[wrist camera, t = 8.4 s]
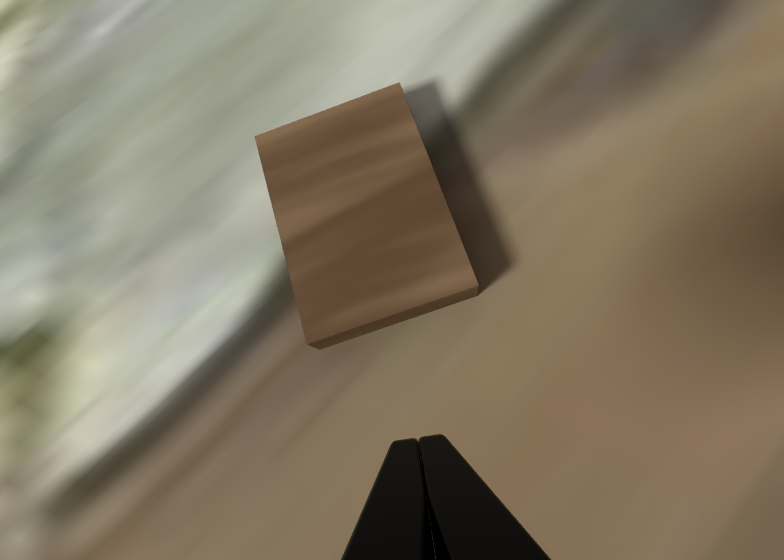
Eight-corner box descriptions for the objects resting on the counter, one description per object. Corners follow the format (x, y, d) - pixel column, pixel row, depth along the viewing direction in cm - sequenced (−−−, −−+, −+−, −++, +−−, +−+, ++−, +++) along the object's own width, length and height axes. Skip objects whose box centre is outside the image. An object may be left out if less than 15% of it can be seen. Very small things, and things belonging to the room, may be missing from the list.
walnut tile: (478, 285, 17) (399, 82, 20) (307, 344, 18) (254, 136, 21) (477, 297, 19) (405, 111, 22) (322, 350, 20) (272, 160, 23)
